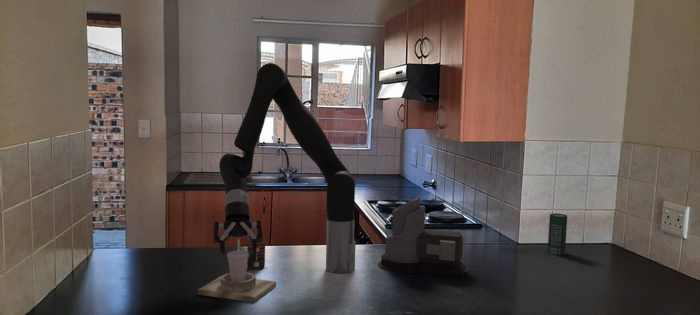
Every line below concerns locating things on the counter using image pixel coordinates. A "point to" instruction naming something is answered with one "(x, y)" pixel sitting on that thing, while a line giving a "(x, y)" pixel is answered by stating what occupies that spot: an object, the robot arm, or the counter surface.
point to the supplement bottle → (256, 255)
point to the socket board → (239, 294)
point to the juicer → (421, 245)
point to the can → (557, 234)
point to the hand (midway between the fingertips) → (238, 253)
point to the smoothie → (238, 264)
